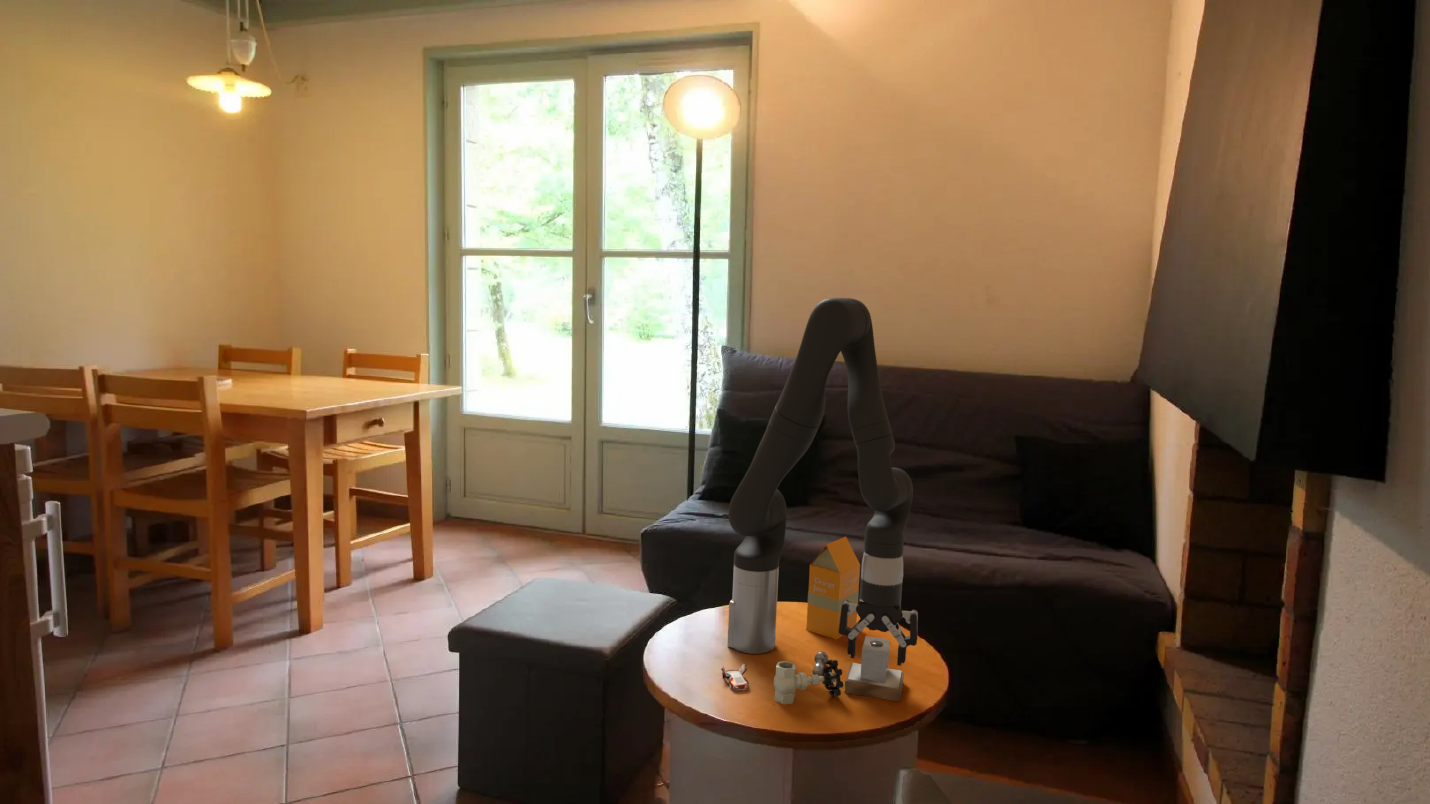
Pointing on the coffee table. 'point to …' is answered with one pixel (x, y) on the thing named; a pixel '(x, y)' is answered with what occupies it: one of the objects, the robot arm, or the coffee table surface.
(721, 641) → the coffee table surface
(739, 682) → the toy car
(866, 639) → the block
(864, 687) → the stand
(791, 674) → the valve
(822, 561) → the orange juice
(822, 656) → the steel bolt
